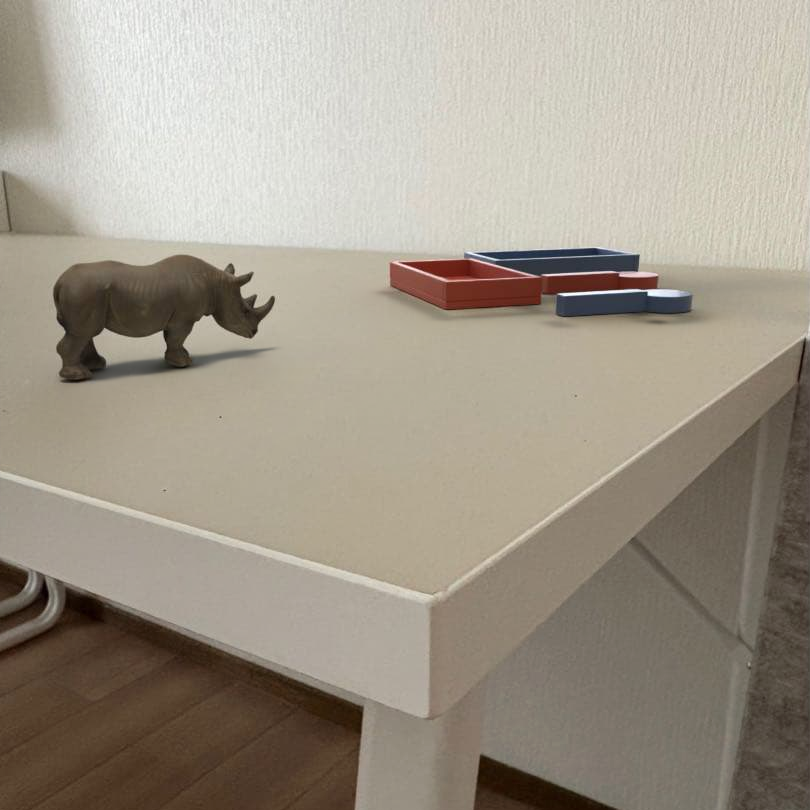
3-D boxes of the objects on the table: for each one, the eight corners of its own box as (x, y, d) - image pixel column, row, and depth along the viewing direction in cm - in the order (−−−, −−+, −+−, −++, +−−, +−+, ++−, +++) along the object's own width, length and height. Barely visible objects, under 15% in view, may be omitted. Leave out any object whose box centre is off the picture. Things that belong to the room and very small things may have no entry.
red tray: (389, 285, 82) (389, 261, 81) (471, 281, 84) (472, 258, 83) (445, 309, 69) (446, 281, 68) (541, 304, 71) (542, 277, 70)
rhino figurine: (296, 353, 54) (290, 250, 51) (67, 385, 47) (48, 267, 44) (265, 342, 57) (258, 245, 55) (46, 371, 50) (27, 260, 47)
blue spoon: (572, 319, 64) (574, 298, 64) (547, 311, 68) (548, 291, 67) (702, 311, 67) (704, 291, 67) (670, 303, 71) (672, 284, 70)
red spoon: (554, 296, 75) (555, 278, 74) (532, 289, 78) (533, 272, 78) (666, 290, 78) (668, 272, 77) (641, 284, 82) (642, 267, 81)
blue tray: (596, 267, 94) (598, 247, 93) (638, 276, 86) (640, 254, 86) (463, 273, 89) (463, 252, 89) (495, 284, 82) (496, 260, 81)
